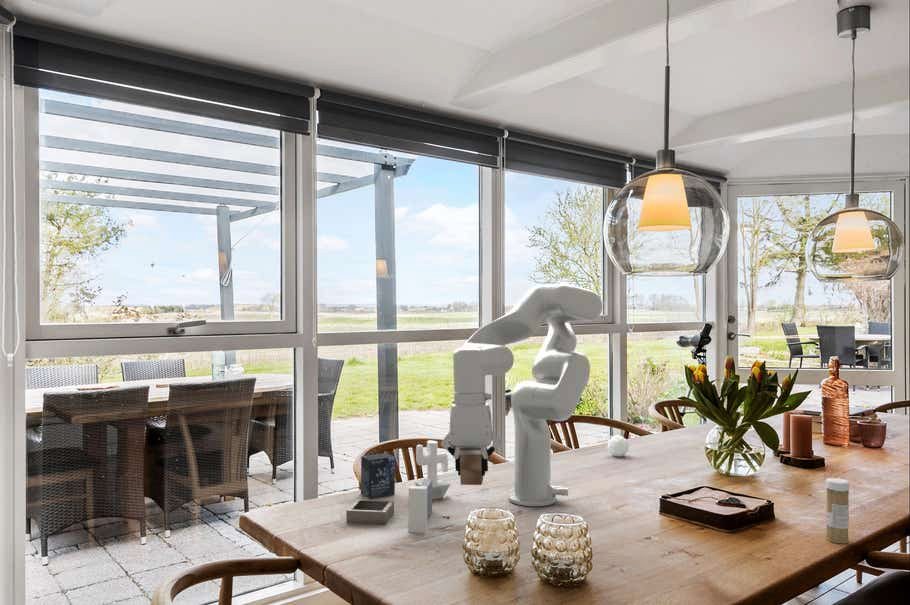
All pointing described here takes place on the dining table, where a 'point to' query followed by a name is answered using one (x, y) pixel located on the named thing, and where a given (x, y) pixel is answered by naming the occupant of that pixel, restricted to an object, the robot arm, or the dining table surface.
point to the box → (377, 475)
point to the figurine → (433, 467)
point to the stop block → (470, 466)
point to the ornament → (618, 446)
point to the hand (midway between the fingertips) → (471, 473)
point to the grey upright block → (419, 506)
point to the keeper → (370, 512)
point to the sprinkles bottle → (837, 510)
